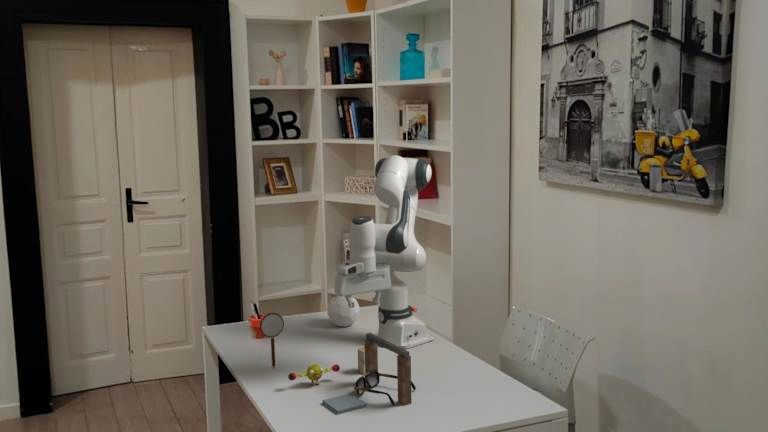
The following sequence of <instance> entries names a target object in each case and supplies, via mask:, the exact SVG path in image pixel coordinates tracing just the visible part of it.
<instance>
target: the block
mask: <svg viewBox="0 0 768 432" xmlns="http://www.w3.org/2000/svg"><path fill="white" fill-rule="evenodd" d="M357 371H358V372H359V373H361V374H362V375H365V346H364V347H360V348H357Z"/></svg>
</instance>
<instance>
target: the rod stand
mask: <svg viewBox="0 0 768 432" xmlns="http://www.w3.org/2000/svg"><path fill="white" fill-rule="evenodd" d="M364 347H365V374H366V373H368V372H370V371H373V370H376V371H378V372H379V362H378V361H379V360H378V358H379V355H378V354H379V353H378V344H376V343H374V342H372V341H370V340H368V339H366V338H365V339H364ZM411 359H412V357H411V355H409V357H406V358H404V357H402V356H400V355H398V354H397V355H396V365H397V366H396V368H397V369H396V371H397V373H396V374H397V375H396V376H397V379H396V380H397V403H398V404H400V405H402V406H406V405H407V406H408V405H411V404H412V386H411V381H412V360H411Z"/></svg>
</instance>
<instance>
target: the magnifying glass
mask: <svg viewBox="0 0 768 432" xmlns="http://www.w3.org/2000/svg"><path fill="white" fill-rule="evenodd" d="M284 326H285V322H284V318H283V317H282V315H280V314H279V313H276V312H271V313H270V312H269V313H266V315H264V316H263V317H262V318H261V320H260V323H259V330H260V332H261V334H262V335H264V337H267V338H270V348H271V349H270V350H271V351H270V353H271V367H272V369H275V368H276V349H275V348H276V347H275V346H276V345H275V338H276V337H278V336H279V335H280V334H281V333H282V332H283V330H284Z"/></svg>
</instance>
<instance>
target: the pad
mask: <svg viewBox="0 0 768 432" xmlns="http://www.w3.org/2000/svg"><path fill="white" fill-rule="evenodd" d="M322 404H323V405H324V406H326V407H327V408H328V409H330V410H331V411H332V412H334V413H336V414H337V415H341V414H344V413H348V412H352V411H355V410H359V409H363V408H366V407H368V403H367V402H366V401H364V400H362V399H361V398H359V397H358V396H356V395H355V394H353V393H351V392H350V393H345V394H342V395H337V396H334V397H330V398H329V397H328V398H325V399H322Z"/></svg>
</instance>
